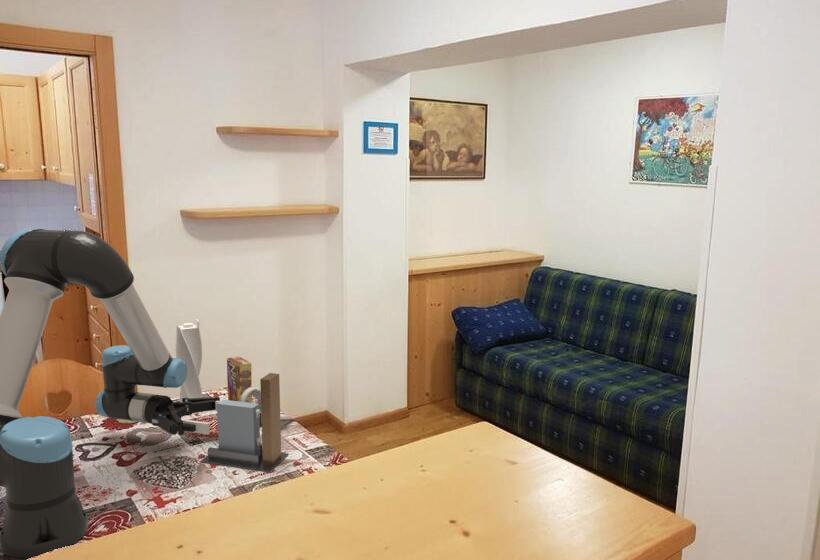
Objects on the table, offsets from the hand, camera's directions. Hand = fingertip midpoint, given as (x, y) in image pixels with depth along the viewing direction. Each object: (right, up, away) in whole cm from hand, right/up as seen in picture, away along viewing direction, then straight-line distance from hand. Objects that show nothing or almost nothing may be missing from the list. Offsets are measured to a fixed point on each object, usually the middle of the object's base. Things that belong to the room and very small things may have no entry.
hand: (224, 418), depth 162 cm
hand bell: (-34, -6, +25) cm, 42 cm away
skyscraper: (-19, -4, +33) cm, 39 cm away
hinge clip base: (+5, -10, 0) cm, 11 cm away
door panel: (+4, -10, 0) cm, 10 cm away
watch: (+2, -7, +21) cm, 22 cm away
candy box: (-5, -4, +33) cm, 34 cm away
